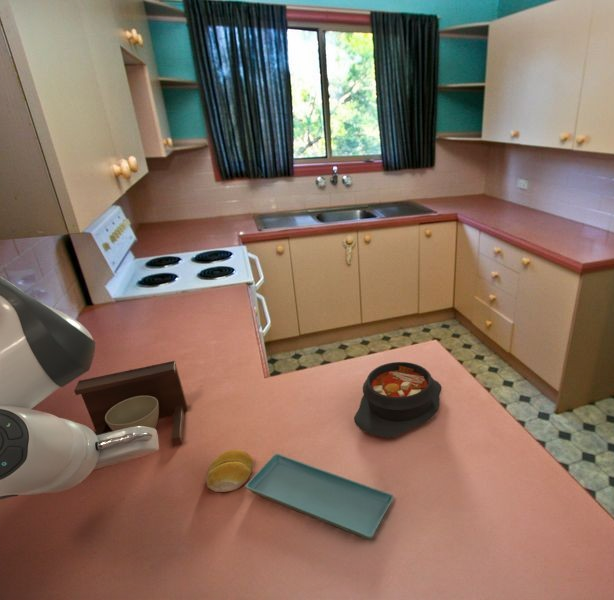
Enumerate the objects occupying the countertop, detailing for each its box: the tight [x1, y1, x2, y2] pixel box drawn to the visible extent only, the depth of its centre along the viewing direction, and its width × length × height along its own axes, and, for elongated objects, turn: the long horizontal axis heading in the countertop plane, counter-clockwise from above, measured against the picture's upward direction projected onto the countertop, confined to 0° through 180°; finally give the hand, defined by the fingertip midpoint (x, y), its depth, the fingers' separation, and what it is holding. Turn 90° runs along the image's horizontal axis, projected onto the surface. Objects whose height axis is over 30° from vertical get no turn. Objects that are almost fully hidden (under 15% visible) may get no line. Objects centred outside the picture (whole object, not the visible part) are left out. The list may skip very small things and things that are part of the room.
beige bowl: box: [105, 396, 159, 432], centre depth 93 cm, size 10×10×7 cm
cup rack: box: [73, 360, 189, 447], centre depth 92 cm, size 14×19×13 cm
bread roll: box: [205, 449, 254, 493], centre depth 82 cm, size 8×9×4 cm
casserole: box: [353, 361, 442, 438], centre depth 99 cm, size 25×19×8 cm
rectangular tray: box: [244, 453, 395, 540], centre depth 77 cm, size 26×9×2 cm, turn 66°
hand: (95, 461), depth 67 cm, fingers closed
